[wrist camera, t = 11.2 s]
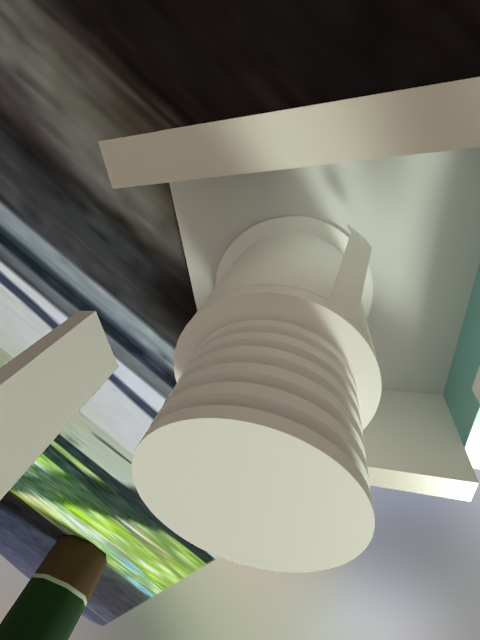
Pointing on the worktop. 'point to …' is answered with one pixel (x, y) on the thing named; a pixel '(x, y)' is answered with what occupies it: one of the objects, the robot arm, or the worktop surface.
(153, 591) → the worktop surface
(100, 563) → the beer bottle
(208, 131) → the holder
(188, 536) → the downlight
